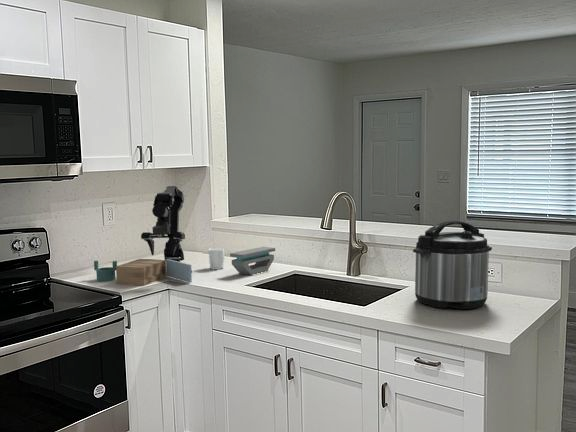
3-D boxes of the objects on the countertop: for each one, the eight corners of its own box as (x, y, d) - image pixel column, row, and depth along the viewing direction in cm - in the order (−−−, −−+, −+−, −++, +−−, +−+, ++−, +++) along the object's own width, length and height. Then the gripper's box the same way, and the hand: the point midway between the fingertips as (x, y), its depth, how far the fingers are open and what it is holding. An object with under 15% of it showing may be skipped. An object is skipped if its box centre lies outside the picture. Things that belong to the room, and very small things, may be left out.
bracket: (118, 280, 270) (117, 261, 269) (97, 282, 265) (97, 263, 265) (113, 277, 278) (112, 258, 277) (93, 279, 273) (92, 260, 272)
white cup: (222, 270, 292) (221, 250, 291) (207, 269, 293) (206, 250, 292) (226, 267, 300) (226, 247, 299) (211, 266, 301) (211, 247, 300)
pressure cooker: (483, 294, 238) (486, 217, 235) (498, 313, 210) (501, 225, 207) (408, 292, 242) (410, 216, 239) (413, 310, 214) (414, 224, 211)
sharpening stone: (242, 277, 273) (242, 254, 272) (230, 275, 278) (229, 253, 277) (275, 269, 293) (275, 247, 292) (263, 267, 298) (263, 246, 297)
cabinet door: (166, 276, 277) (165, 259, 276) (169, 275, 278) (168, 258, 277) (189, 282, 262) (189, 264, 261) (193, 281, 263) (192, 264, 262)
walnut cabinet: (140, 275, 281) (139, 258, 280) (166, 276, 277) (165, 260, 276) (116, 283, 262) (116, 266, 261) (144, 285, 258) (143, 267, 257)
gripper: (137, 218, 256) (135, 253, 254) (178, 217, 254) (177, 253, 251) (146, 221, 267) (144, 256, 265) (185, 221, 265) (185, 255, 262)
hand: (162, 255), depth 260 cm, fingers open, 9 cm apart
